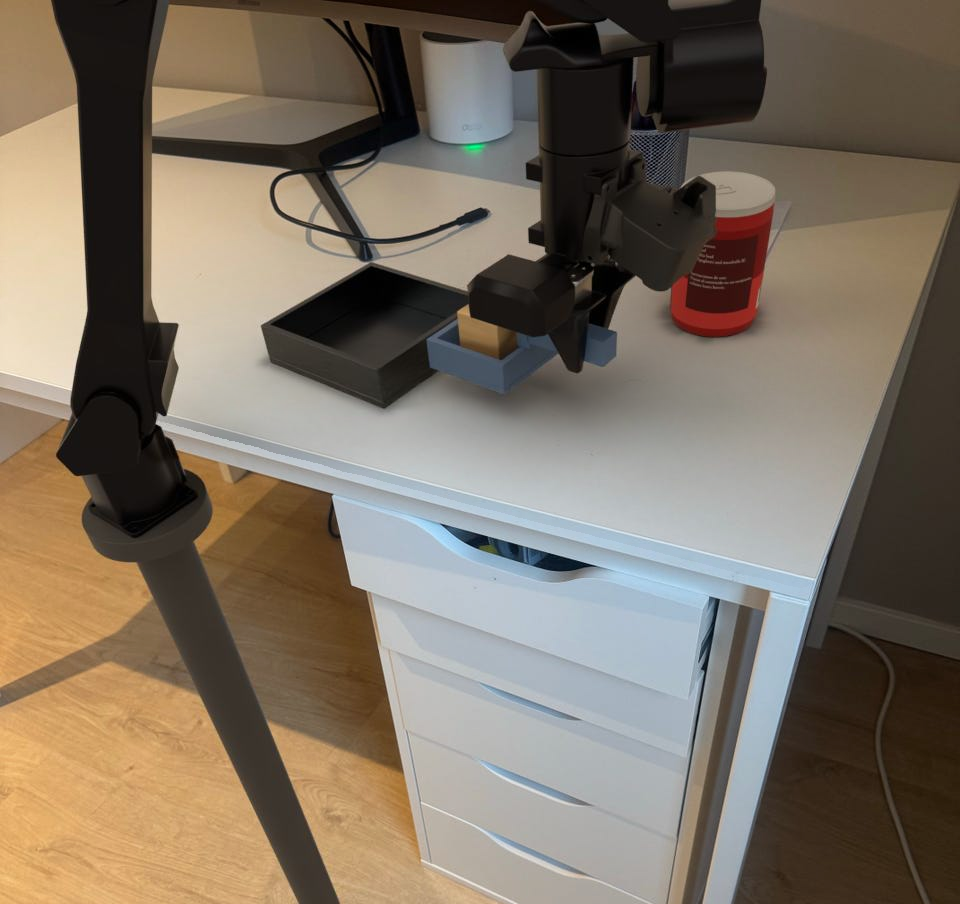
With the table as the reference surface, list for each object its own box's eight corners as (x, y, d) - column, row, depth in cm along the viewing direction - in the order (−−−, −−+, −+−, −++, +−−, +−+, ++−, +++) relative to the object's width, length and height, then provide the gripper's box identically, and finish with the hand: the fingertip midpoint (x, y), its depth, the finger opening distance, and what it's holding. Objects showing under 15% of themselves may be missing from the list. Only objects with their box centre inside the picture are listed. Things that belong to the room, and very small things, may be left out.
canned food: (719, 288, 85) (734, 163, 77) (775, 322, 80) (798, 192, 72) (651, 311, 83) (659, 185, 75) (704, 347, 78) (719, 217, 70)
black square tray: (384, 408, 75) (377, 369, 72) (270, 362, 82) (260, 325, 79) (489, 334, 82) (487, 296, 79) (377, 297, 89) (371, 261, 86)
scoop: (579, 422, 66) (580, 360, 63) (429, 367, 73) (422, 309, 70) (636, 374, 70) (639, 314, 66) (488, 327, 77) (484, 269, 73)
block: (500, 371, 71) (496, 324, 68) (461, 358, 73) (456, 311, 70) (530, 349, 73) (528, 302, 70) (491, 336, 75) (488, 290, 72)
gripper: (610, 220, 48) (604, 462, 59) (772, 111, 57) (740, 338, 69) (451, 183, 53) (473, 412, 65) (623, 89, 63) (616, 303, 74)
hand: (582, 365), depth 68 cm, fingers closed on scoop, 2 cm apart
